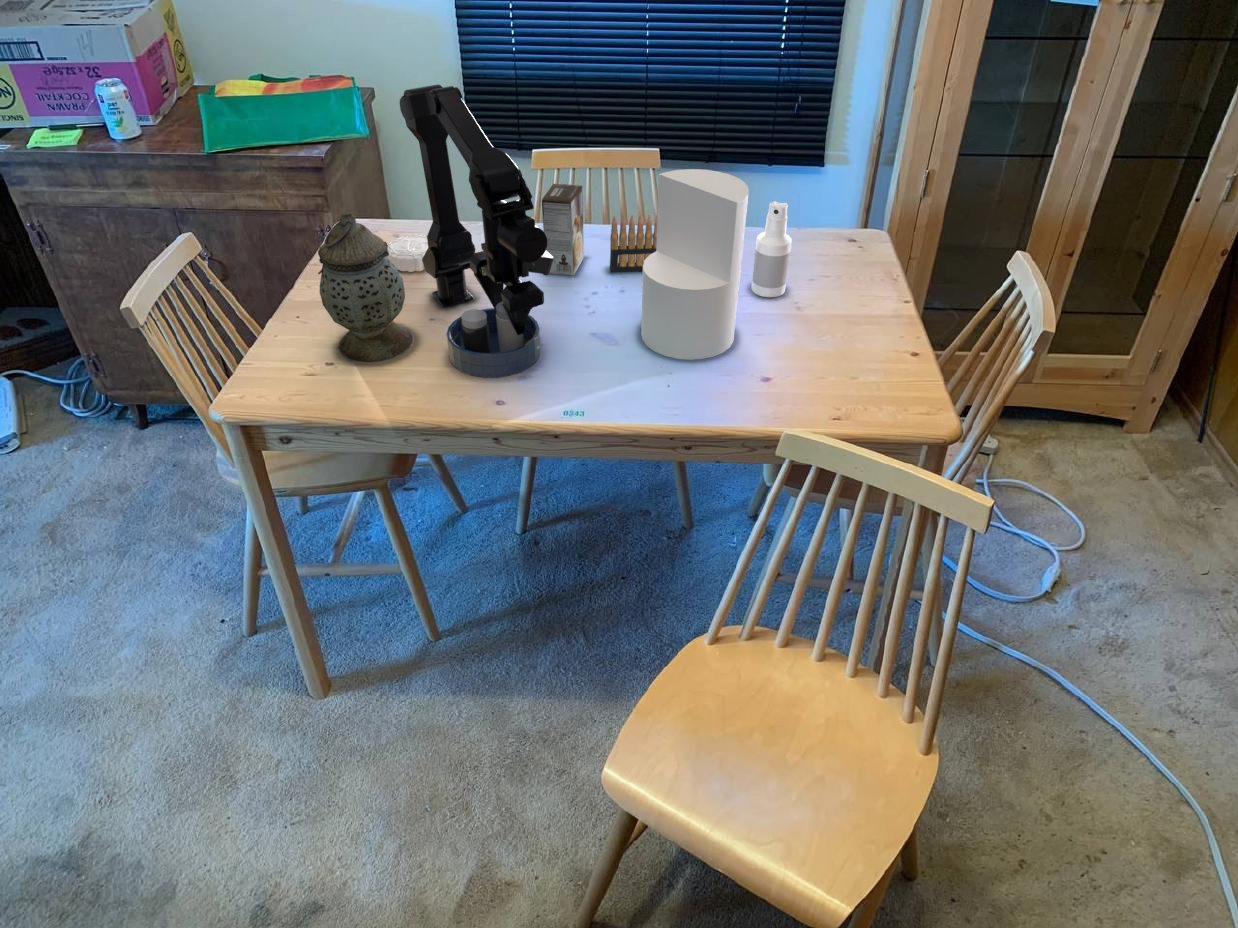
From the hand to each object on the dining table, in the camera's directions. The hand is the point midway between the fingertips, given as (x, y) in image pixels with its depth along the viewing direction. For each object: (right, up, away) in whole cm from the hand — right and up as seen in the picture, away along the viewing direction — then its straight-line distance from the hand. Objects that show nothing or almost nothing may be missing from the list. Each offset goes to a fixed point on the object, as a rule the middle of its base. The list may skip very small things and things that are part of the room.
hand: (509, 322), depth 150 cm
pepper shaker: (-6, -6, +1) cm, 8 cm away
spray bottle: (+50, +10, +22) cm, 55 cm away
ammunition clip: (+23, +16, +29) cm, 40 cm away
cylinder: (+32, -1, +8) cm, 33 cm away
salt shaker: (0, -4, +3) cm, 5 cm away
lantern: (-25, -3, +5) cm, 26 cm away
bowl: (-3, -5, +2) cm, 6 cm away
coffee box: (+8, +17, +30) cm, 36 cm away
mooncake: (-24, +19, +32) cm, 44 cm away
